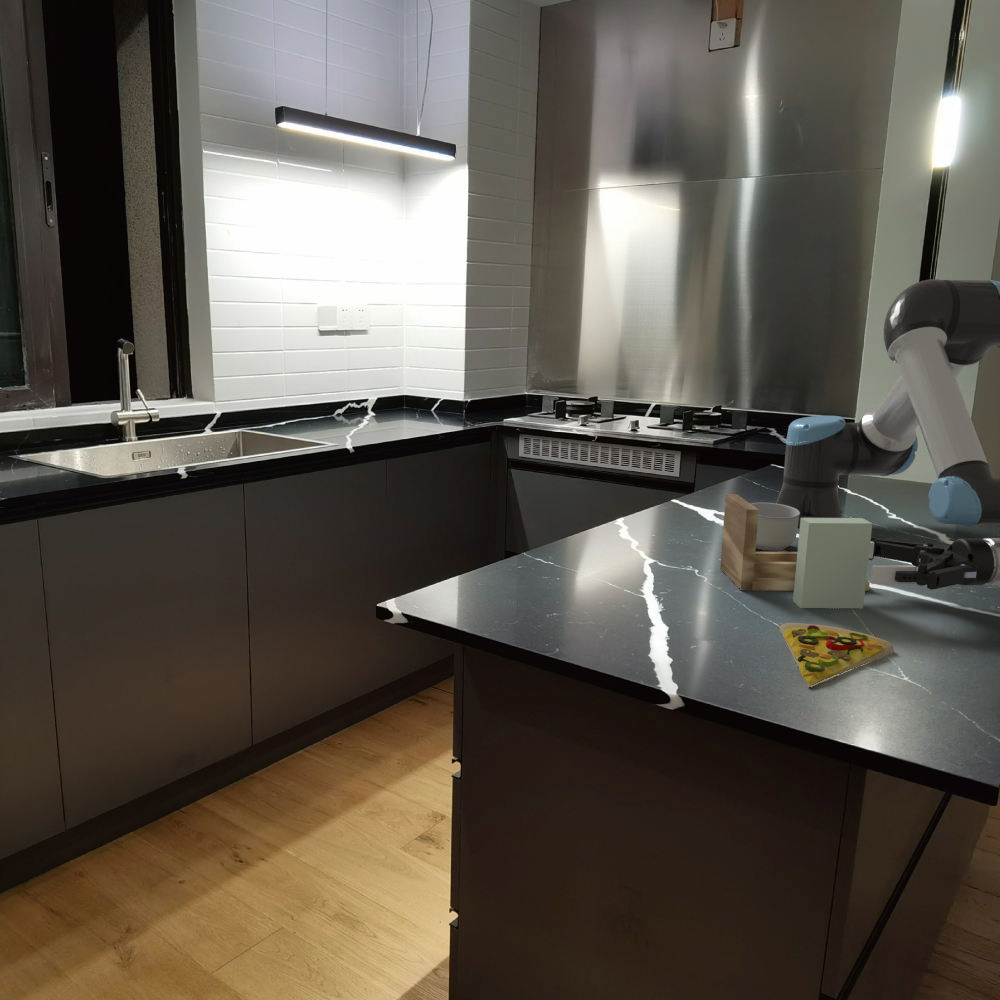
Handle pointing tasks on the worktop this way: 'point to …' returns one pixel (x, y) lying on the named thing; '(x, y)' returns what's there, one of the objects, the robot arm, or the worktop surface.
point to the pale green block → (832, 562)
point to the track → (753, 552)
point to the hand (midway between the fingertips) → (851, 561)
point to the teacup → (776, 526)
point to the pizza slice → (830, 649)
